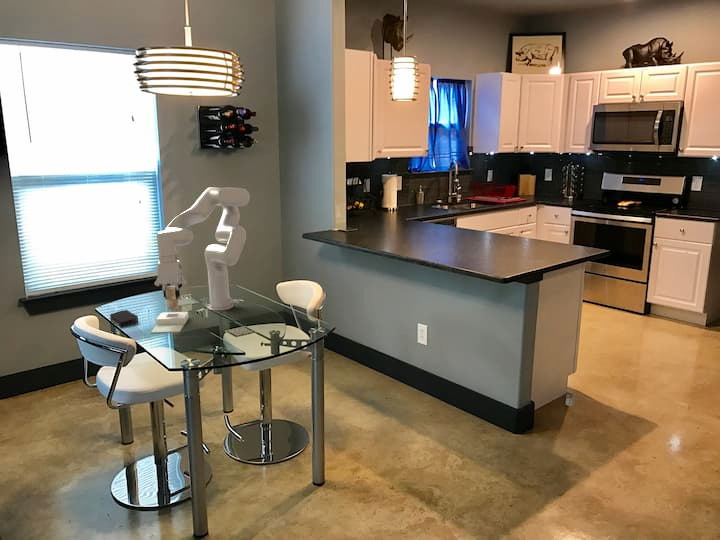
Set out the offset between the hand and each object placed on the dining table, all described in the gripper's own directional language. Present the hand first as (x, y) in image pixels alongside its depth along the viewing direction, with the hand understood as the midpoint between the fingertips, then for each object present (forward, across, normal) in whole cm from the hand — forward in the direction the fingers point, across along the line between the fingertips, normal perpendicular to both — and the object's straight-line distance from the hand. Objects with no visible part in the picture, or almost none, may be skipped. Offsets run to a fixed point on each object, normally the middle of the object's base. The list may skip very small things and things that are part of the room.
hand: (172, 297), depth 258 cm
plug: (+5, 0, 0) cm, 5 cm away
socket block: (+12, 0, +1) cm, 12 cm away
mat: (+11, 0, +11) cm, 16 cm away
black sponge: (+12, +23, -3) cm, 26 cm away
